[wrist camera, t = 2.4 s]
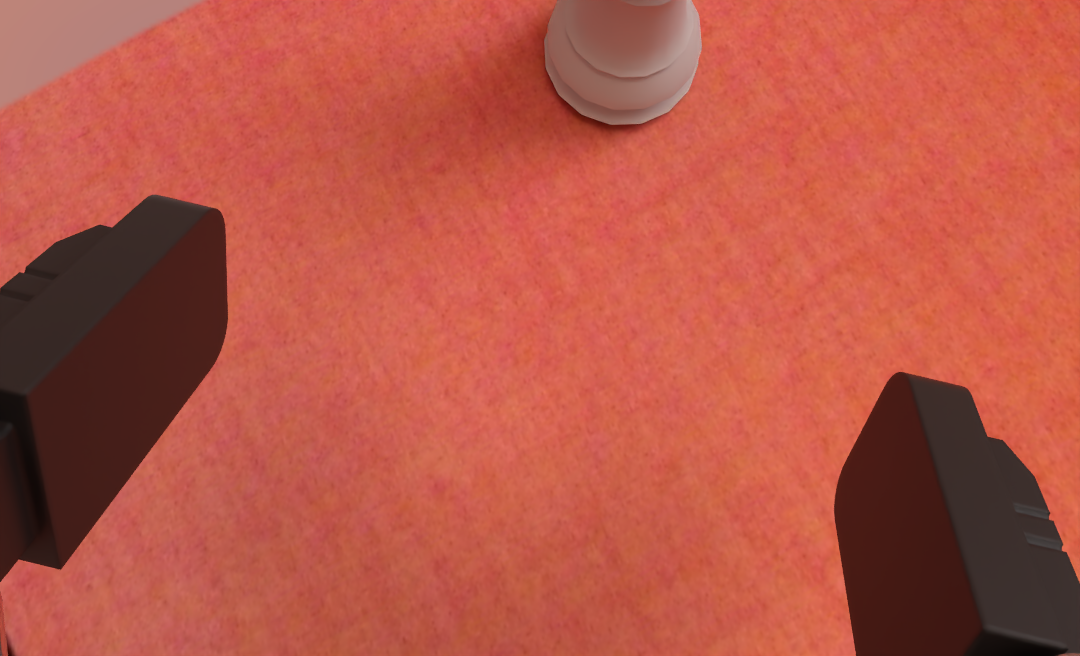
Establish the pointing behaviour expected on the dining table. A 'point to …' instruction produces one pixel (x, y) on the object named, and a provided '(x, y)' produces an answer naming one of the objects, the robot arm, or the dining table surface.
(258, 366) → the dining table surface
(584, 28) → the rook chess piece
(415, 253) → the dining table surface
